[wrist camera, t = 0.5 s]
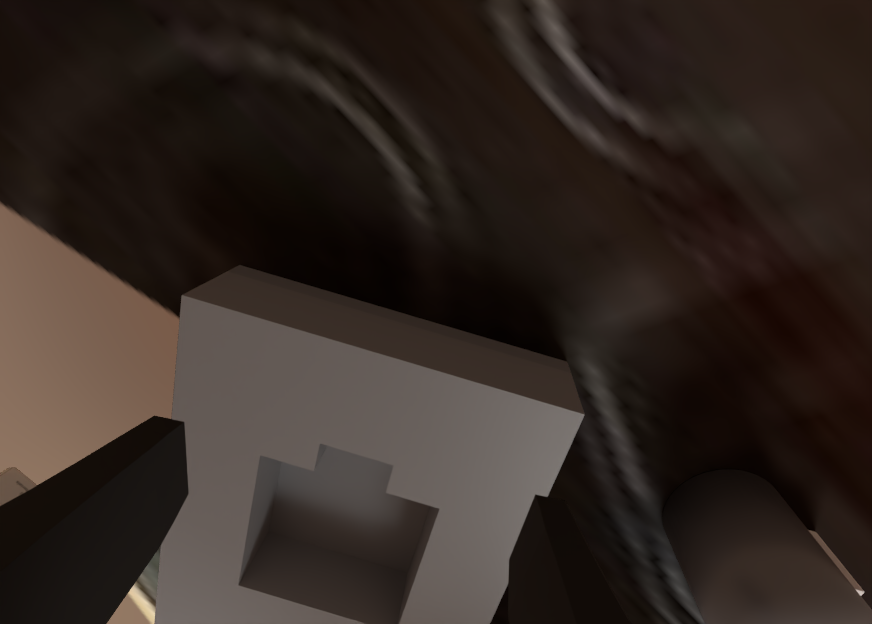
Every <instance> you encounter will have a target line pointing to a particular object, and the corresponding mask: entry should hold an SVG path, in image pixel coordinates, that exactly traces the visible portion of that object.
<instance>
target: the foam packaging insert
mask: <svg viewBox="0 0 872 624" xmlns="http://www.w3.org/2000/svg"><path fill="white" fill-rule="evenodd" d="M178 335H179V336H178V346H177V358H176V371H175V383H174V394H173V395H174V396H173V408H172V419H173V420H178V421H183V422H184V423H185V440H186V457H187V474H188V491H189V494H188V496H187V498H186V500H185V502H184V504H183V506H182V507H181V509H180V511H179V513H178V515H177V517H176V519H175V521H174V523H173V524H172V526H171V528H170V530H169V532H168V533H167V535H166V537H165V539H164V541H163V542H162V544H161V552H160V564H159V576H158V588H157V600H156V612H155V624H490V623H491V620H492V618H493V616H494V614H495V612H496V609H497V607H498V605H499V603H500V600H501V598H502V596H503V594H504V592H505V589H506V587H507V585H508V581H509V558H510V556H511V553H512V551H513V548H514V546H515V543H516V541H517V539H518V536H519V534H520V531H521V529H522V526H523V524H524V521H525V519H526V516H527V514H528V511H529V509H530V506H531V504H532V501H533V499H534V497H535V494H536V495H540V496H545V497H548V494H549V492H550V490H551V488H552V486H553V483H554V481H555V479H556V477H557V475H558V472H559V470H560V468H561V466H562V464H563V461H564V459H565V457H566V455H567V453H568V450H569V448H570V446H571V444H572V441H573V439H574V437H575V435H576V433H577V430H578V428H579V426H580V424H581V422H582V419H583V417H584V415H585V414H584V411H583V408H582V405H581V402H580V399H579V396H578V393H577V390H576V387H575V384H574V380H573V377H572V374H571V371H570V368H569V365H568V362H566V361H563V360H559V359H556V358H553V357H549V356H546V355H543V354H539V353H536V352H532V351H529V350H526V349H522V348H519V347H516V346H512V345H509V344H505V343H502V342H499V341H495V340H492V339H488V338H485V337H482V336H478V335H475V334H472V333H468V332H465V331H461V330H458V329H455V328H451V327H448V326H445V325H441V324H438V323H434V322H431V321H428V320H424V319H421V318H417V317H414V316H411V315H407V314H404V313H401V312H397V311H394V310H390V309H387V308H384V307H380V306H377V305H374V304H370V303H367V302H363V301H360V300H357V299H353V298H350V297H346V296H343V295H340V294H336V293H333V292H330V291H326V290H323V289H319V288H316V287H313V286H309V285H306V284H303V283H299V282H296V281H292V280H289V279H286V278H282V277H279V276H275V275H272V274H269V273H265V272H262V271H259V270H255V269H252V268H248V267H245V266H242V265H239V266H237V267H235V268H233V269H231V270H229V271H227V272H225V273H223V274H221V275H219V276H217V277H215V278H214V279H212V280H210V281H208V282H206V283H204V284H202V285H200V286H198V287H196V288H194V289H192V290H190V291H189V292H187V293H185V294H183V295H182V298H181V310H180V323H179V334H178Z"/></svg>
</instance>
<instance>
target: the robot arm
mask: <svg viewBox="0 0 872 624" xmlns="http://www.w3.org/2000/svg"><path fill="white" fill-rule="evenodd" d="M188 494H189V491H188V474H187V457H186V440H185V423H184V422H183V421H178V420H173V419H168V418H163V417H158V416H153V417H152V418H150V419H148V420H147V421H145V422H143V423H141V424H140V425H138V426H136V427H135V428H133V429H131V430H130V431H128V432H126V433H125V434H123V435H121V436H120V437H118V438H116V439H115V440H113V441H111V442H110V443H108V444H106V445H105V446H103V447H101V448H100V449H98V450H97V451H95V452H93V453H91V454H90V455H88V456H87V457H85V458H83V459H82V460H80V461H78V462H77V463H75V464H73V465H71V466H70V467H68V468H66V469H65V470H63V471H61V472H60V473H58V474H56V475H54V476H53V477H51V478H49V479H48V480H46V481H44V482H43V483H41V484H39V485H37V486H36V487H34V488H32V489H30V490H29V491H27V492H25V493H23V494H21V495H19V496H18V497H16V498H14V499H12V500H10V501H8V502H7V503H5V504H3V505H1V506H0V624H106V623H107V622H108V621H109V619H110V618H111V616H112V615H113V613H114V612H115V611H116V609H117V608H118V606H119V605H120V603H121V602H122V601H123V599H124V598H125V596H126V595H127V593H128V592H129V591H130V589H131V588H132V586H133V585H134V583H135V582H136V581H137V579H138V578H139V576H140V575H141V573H142V572H143V570H144V569H145V567H146V566H147V565H148V563H149V562H150V560H151V559H152V557H153V556H154V554H155V553H156V551H157V550H158V548H159V547H160V545H161V544H162V542H163V541H164V539H165V537H166V535H167V533H168V532H169V530H170V528H171V526H172V524H173V523H174V521H175V519H176V517H177V515H178V513H179V511H180V509H181V507H182V506H183V504H184V502H185V500H186V498H187V496H188ZM508 619H509V624H631V622H630V620H629V618H628V617H627V615H626V613H625V611H624V610H623V608H622V606H621V604H620V603H619V601H618V599H617V597H616V596H615V594H614V592H613V590H612V589H611V587H610V585H609V583H608V581H607V579H606V578H605V576H604V574H603V572H602V570H601V568H600V567H599V565H598V563H597V561H596V559H595V557H594V555H593V553H592V551H591V550H590V548H589V546H588V544H587V542H586V540H585V538H584V536H583V534H582V532H581V530H580V528H579V526H578V524H577V522H576V520H575V518H574V516H573V514H572V512H571V510H570V508H569V506H568V505H567V503H566V502H565V500H560V499H555V498H550V497H545V496H540V495H536V494H535V497H534V499H533V501H532V504H531V506H530V509H529V511H528V514H527V516H526V519H525V521H524V524H523V526H522V529H521V531H520V534H519V536H518V539H517V541H516V543H515V546H514V548H513V551H512V553H511V556H510V558H509V581H508Z"/></svg>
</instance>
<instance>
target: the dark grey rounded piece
mask: <svg viewBox="0 0 872 624" xmlns="http://www.w3.org/2000/svg"><path fill="white" fill-rule="evenodd" d="M662 520H663V527H664V530H665V532H666V535H667V537H668V539H669V541H670V544H671V546H672V548H673V551H674V553H675V555H676V558H677V560H678V562H679V565H680V567H681V569H682V571H683V574H684V576H685V578H686V581H687V583H688V585H689V588H690V590H691V592H692V595H693V597H694V599H695V601H696V604H697V606H698V608H699V611H700V613H701V615H702V618H703V620H704V622H705V624H872V610H871V608H870V607H869V606H868V605H867V603H866V602H865V601H864V600H863V598H862V597H861V596H862V594H863V593H864V591H863V589H862V588H861V587H860V586H859V585H858V583H857V582H856V581H855V580H854V578H853V577H852V576H851V575H850V573H849V572H848V571H847V570H846V569H845V567H844V566H843V565H842V564H841V562H840V561H839V560H838V559H837V557H836V556H835V555H834V554H833V552H832V551H831V550H830V549H829V548H828V546H827V545H826V544H825V543H824V541H823V540H822V539H821V538H820V536H819V535H818V534H817V533H816V532H814V531H811V530H808V529H807V528H806V527H805V525H804V524H803V523H802V522H801V520H800V519H799V518H798V517H797V515H796V514H795V513H794V512H793V510H792V509H791V508H790V507H789V505H788V504H787V503H786V502H785V500H784V499H783V498H782V497H781V495H780V494H779V493H778V492H777V490H776V489H775V488H774V487H773V486H772V485H771V484H770V483H769V482H768V481H766V480H765V479H764V478H762V477H760V476H758V475H756V474H753V473H750V472H746V471H742V470H734V469H723V470H715V471H709V472H706V473H702V474H700V475H697V476H695V477H693V478H691V479H689V480H687V481H686V482H684V483H683V484H681V485H680V486H679V487H678V488H677V489H676V490H675V491H674V492H673V493H672V494H671V495H670V497H669V498H668V500H667V502H666V504H665V507H664V510H663V516H662Z"/></svg>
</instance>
